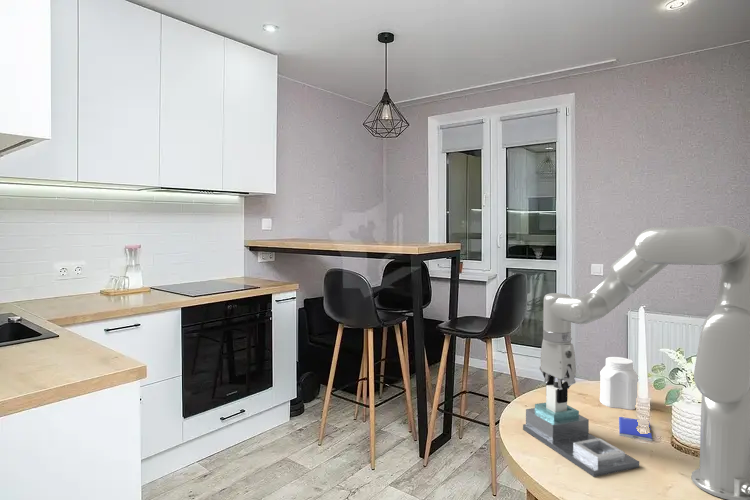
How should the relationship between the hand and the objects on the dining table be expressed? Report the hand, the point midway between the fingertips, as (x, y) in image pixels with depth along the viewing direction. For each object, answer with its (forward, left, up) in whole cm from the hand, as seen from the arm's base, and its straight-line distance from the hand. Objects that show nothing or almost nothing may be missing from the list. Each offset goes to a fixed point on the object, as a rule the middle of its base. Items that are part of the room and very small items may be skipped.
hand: (556, 398), depth 134 cm
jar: (+13, -36, -11) cm, 40 cm away
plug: (0, 0, -4) cm, 4 cm away
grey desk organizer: (-8, 0, -10) cm, 13 cm away
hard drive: (-5, -24, -11) cm, 27 cm away
